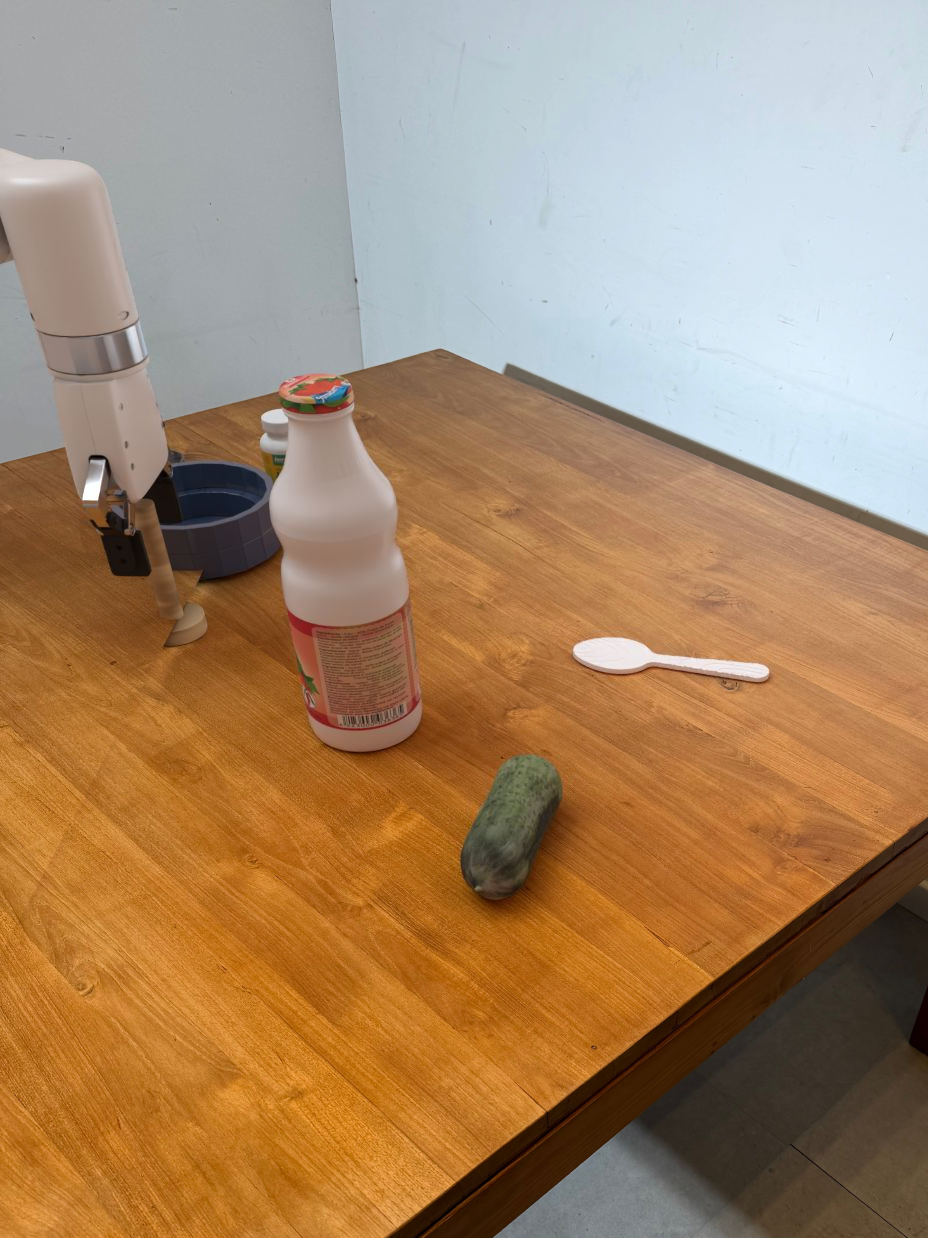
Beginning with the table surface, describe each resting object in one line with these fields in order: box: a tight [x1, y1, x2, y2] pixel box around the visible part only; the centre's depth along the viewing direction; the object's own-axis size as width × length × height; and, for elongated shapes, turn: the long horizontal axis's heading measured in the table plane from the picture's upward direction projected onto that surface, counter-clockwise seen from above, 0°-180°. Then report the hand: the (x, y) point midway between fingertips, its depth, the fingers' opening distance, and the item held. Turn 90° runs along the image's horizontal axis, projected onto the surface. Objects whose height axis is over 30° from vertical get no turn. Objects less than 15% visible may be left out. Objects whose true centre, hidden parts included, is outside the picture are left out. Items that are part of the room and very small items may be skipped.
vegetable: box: [459, 753, 564, 901], centre depth 81 cm, size 14×5×5 cm, turn 167°
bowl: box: [110, 459, 282, 581], centre depth 114 cm, size 16×16×6 cm
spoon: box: [572, 636, 770, 683], centre depth 102 cm, size 5×18×1 cm, turn 80°
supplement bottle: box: [259, 408, 289, 483], centre depth 121 cm, size 5×5×10 cm
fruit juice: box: [269, 373, 423, 753], centre depth 85 cm, size 9×9×28 cm
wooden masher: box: [135, 499, 209, 647], centre depth 100 cm, size 6×6×12 cm
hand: (149, 547), depth 99 cm, fingers open, 9 cm apart
